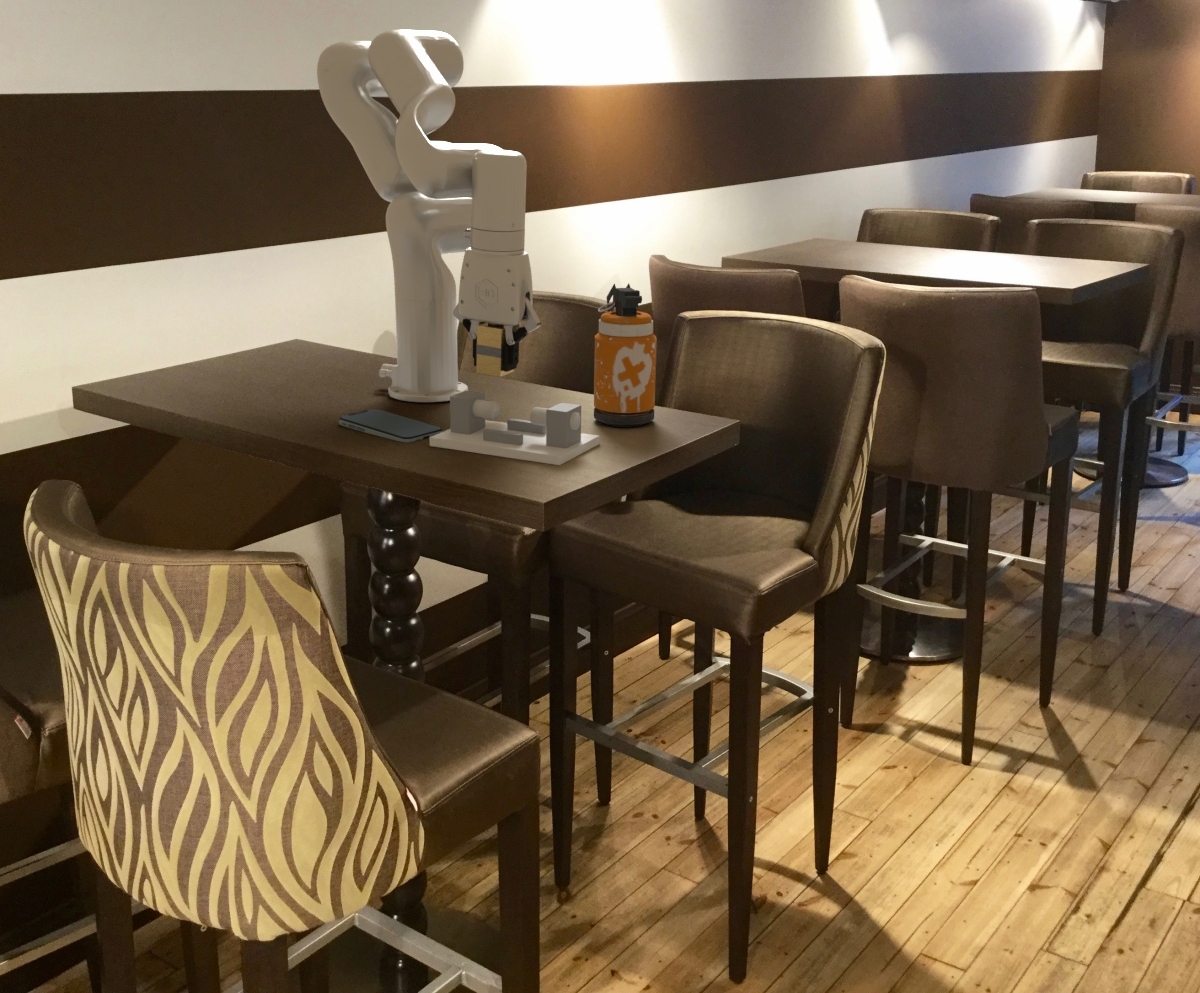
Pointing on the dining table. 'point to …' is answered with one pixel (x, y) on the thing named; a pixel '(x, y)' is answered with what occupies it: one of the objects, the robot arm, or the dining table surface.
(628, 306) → the canister
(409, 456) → the dining table surface
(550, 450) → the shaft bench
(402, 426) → the smartphone
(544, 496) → the dining table surface
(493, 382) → the dining table surface
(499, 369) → the block
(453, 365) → the robot arm
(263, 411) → the dining table surface
